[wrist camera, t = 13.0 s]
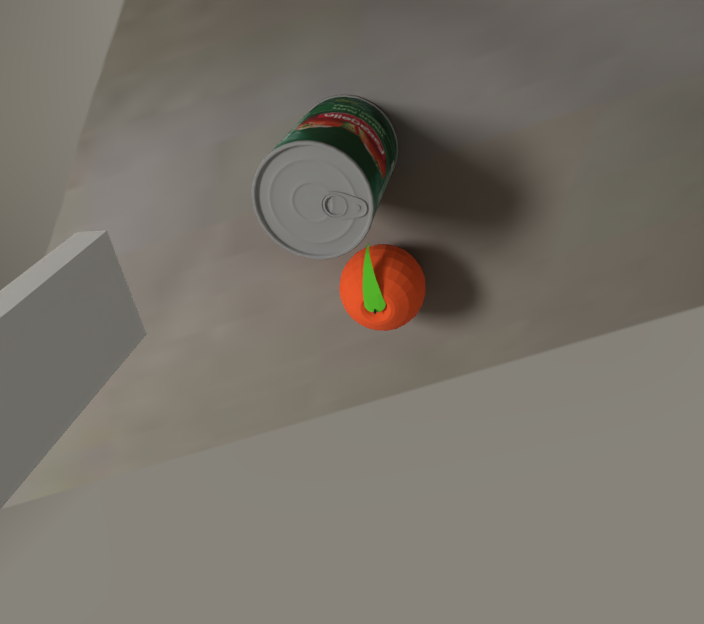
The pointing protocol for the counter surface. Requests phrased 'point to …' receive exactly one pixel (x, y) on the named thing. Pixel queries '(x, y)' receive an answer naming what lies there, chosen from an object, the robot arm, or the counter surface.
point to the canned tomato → (326, 178)
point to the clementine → (382, 287)
